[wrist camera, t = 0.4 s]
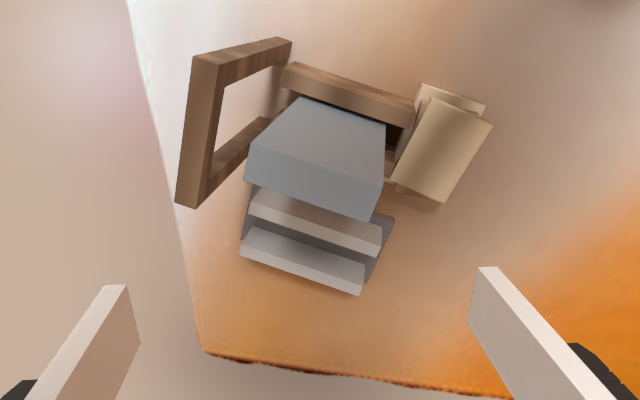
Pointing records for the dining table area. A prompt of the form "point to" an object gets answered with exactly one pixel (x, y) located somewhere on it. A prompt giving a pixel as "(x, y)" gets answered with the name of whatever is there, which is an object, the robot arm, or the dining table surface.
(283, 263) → the slot stand
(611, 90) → the dining table surface
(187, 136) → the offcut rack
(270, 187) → the slate board
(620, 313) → the dining table surface
